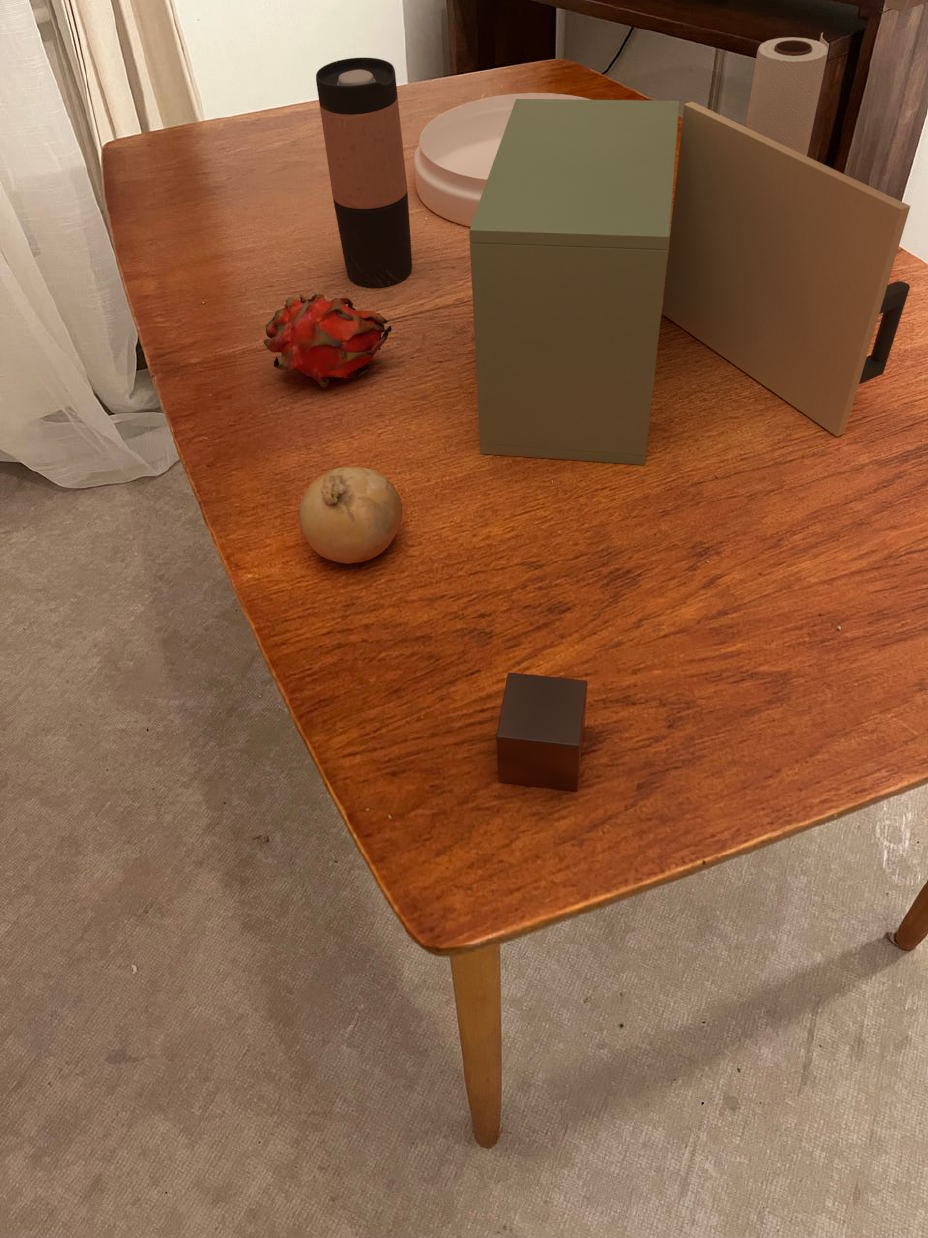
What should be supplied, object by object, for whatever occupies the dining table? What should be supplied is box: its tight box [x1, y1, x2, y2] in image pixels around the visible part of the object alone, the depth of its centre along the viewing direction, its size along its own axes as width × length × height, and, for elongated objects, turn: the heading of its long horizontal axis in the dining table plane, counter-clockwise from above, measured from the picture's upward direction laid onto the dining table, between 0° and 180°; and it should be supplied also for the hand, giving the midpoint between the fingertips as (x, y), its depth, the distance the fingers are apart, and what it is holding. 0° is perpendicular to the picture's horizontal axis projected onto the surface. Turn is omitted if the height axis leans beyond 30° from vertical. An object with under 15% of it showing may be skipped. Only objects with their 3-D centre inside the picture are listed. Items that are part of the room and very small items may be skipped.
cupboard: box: [468, 99, 681, 466], centre depth 84 cm, size 14×24×20 cm, turn 170°
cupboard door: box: [661, 101, 911, 438], centre depth 84 cm, size 7×24×20 cm, turn 30°
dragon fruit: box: [262, 293, 393, 388], centre depth 91 cm, size 8×8×12 cm
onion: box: [298, 466, 403, 565], centre depth 75 cm, size 8×8×7 cm
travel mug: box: [315, 57, 413, 288], centre depth 99 cm, size 8×8×20 cm
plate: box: [413, 92, 593, 228], centre depth 117 cm, size 27×27×6 cm
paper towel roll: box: [745, 32, 830, 157], centre depth 94 cm, size 7×6×21 cm
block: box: [495, 672, 589, 792], centre depth 61 cm, size 5×5×5 cm
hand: (907, 5), depth 69 cm, fingers closed
